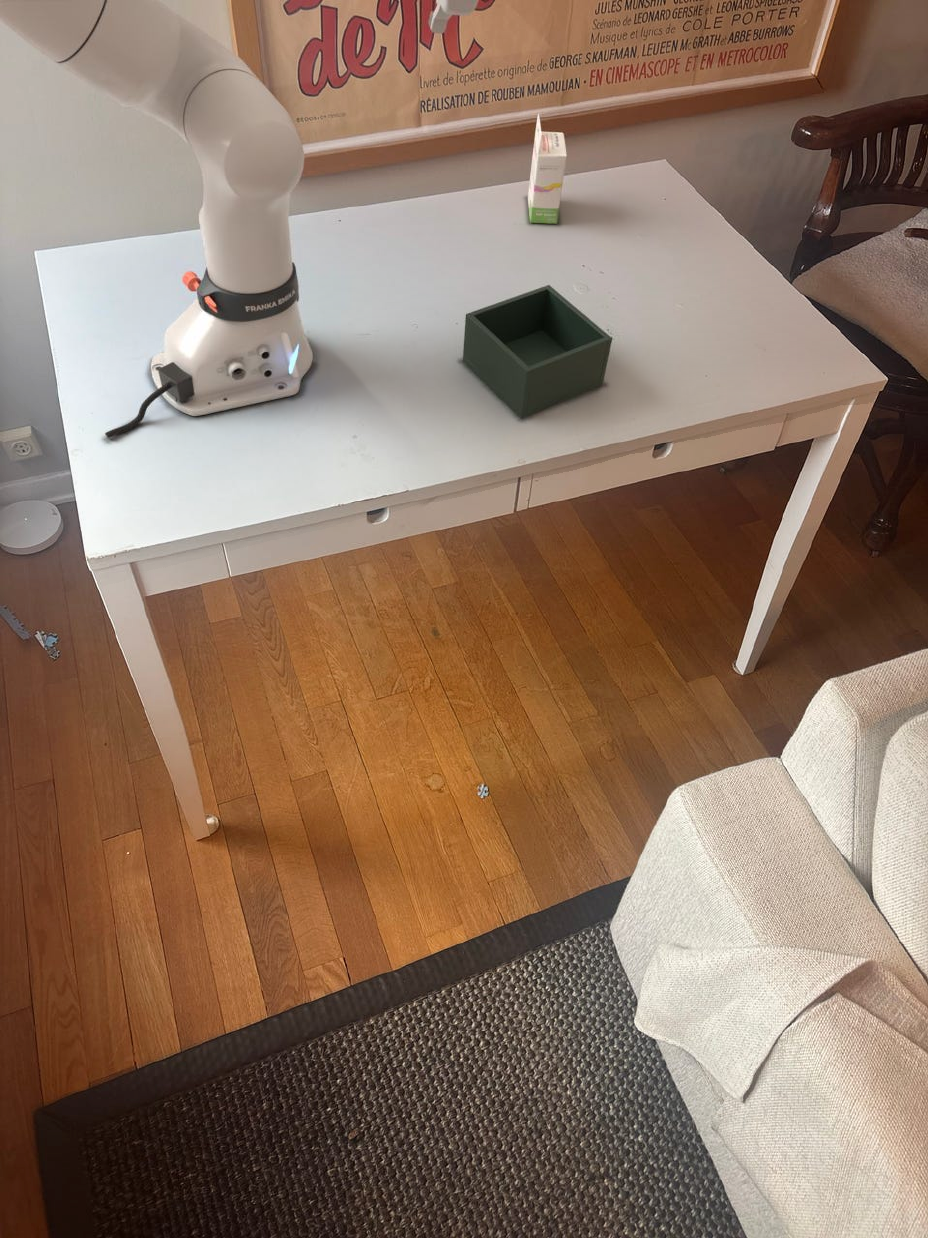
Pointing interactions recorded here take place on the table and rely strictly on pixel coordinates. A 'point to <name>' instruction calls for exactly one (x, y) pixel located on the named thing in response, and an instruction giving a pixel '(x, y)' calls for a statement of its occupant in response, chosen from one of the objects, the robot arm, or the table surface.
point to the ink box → (546, 176)
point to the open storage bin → (535, 350)
